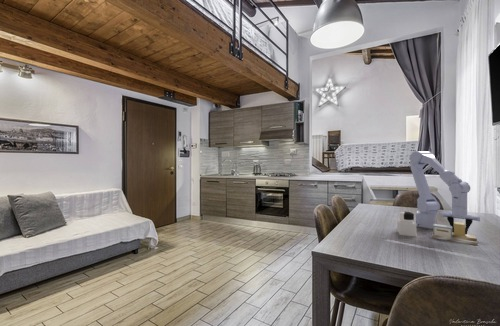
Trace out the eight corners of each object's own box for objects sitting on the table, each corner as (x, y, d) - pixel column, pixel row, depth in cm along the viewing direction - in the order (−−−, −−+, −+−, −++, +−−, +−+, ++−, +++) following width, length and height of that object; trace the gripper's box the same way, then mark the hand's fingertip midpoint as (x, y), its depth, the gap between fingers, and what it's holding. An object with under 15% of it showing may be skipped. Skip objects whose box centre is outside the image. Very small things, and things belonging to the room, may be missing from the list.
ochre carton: (465, 237, 112) (465, 226, 112) (453, 235, 115) (453, 224, 115) (465, 234, 117) (465, 223, 117) (454, 232, 120) (454, 221, 120)
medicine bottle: (413, 234, 120) (413, 211, 120) (416, 238, 114) (416, 214, 114) (397, 232, 123) (397, 210, 123) (399, 236, 117) (399, 212, 117)
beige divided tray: (431, 239, 112) (431, 234, 112) (434, 231, 126) (434, 227, 126) (477, 247, 102) (477, 242, 102) (475, 237, 115) (475, 233, 115)
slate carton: (433, 236, 113) (433, 225, 113) (433, 234, 116) (433, 223, 116) (452, 239, 109) (452, 228, 109) (452, 237, 112) (452, 226, 112)
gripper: (440, 205, 118) (440, 231, 118) (480, 209, 108) (480, 238, 108) (441, 203, 123) (441, 228, 123) (479, 207, 113) (479, 234, 113)
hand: (459, 233), depth 116 cm, fingers closed on ochre carton, 4 cm apart
